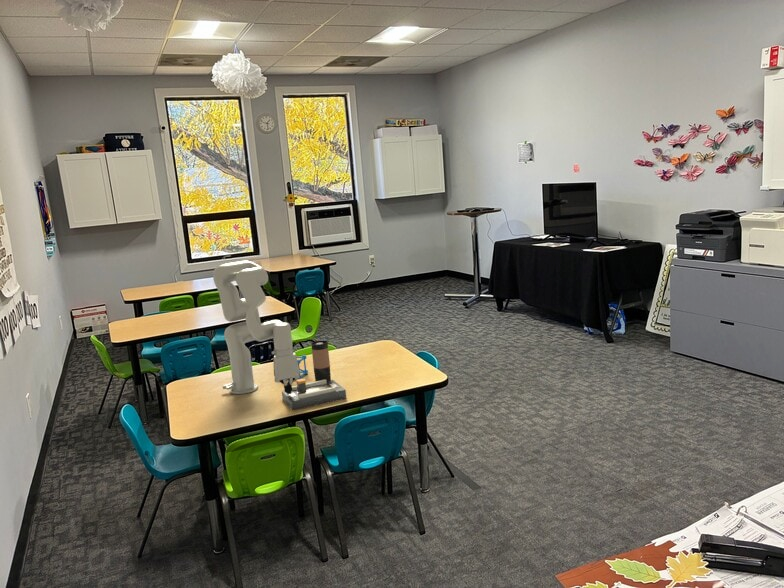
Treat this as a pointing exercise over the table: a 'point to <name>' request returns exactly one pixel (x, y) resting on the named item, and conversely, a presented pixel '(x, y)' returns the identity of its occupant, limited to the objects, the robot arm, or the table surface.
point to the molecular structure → (304, 366)
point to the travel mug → (321, 360)
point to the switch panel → (314, 394)
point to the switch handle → (301, 386)
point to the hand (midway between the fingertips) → (288, 393)
